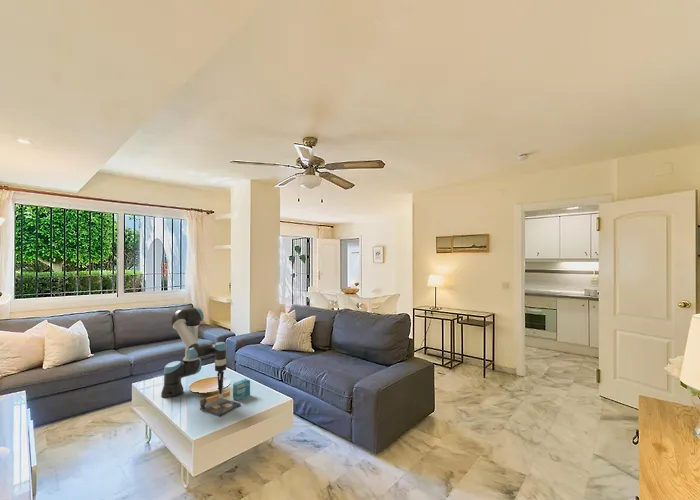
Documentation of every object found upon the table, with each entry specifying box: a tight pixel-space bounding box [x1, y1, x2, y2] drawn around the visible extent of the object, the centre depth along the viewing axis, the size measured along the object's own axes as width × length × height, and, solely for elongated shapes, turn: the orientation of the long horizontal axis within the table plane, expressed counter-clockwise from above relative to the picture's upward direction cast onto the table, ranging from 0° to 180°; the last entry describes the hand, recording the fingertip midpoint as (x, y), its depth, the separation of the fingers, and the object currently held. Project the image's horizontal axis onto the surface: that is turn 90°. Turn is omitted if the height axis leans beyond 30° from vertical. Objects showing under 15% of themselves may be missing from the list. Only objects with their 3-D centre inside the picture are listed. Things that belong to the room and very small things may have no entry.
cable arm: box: [199, 390, 231, 407], centre depth 233 cm, size 21×4×4 cm, turn 138°
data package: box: [232, 378, 251, 401], centre depth 245 cm, size 12×4×12 cm, turn 143°
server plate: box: [199, 398, 242, 417], centre depth 229 cm, size 20×18×3 cm
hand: (220, 397), depth 233 cm, fingers closed
